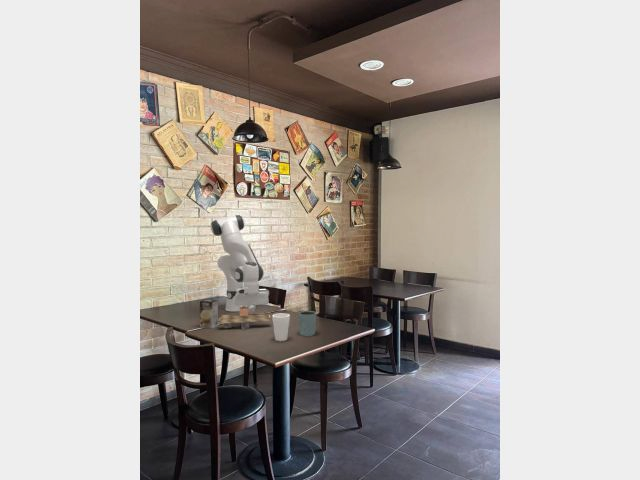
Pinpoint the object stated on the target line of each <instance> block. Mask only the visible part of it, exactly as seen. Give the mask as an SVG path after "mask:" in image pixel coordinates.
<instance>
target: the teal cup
mask: <svg viewBox="0 0 640 480" xmlns="http://www.w3.org/2000/svg"><path fill="white" fill-rule="evenodd" d="M316 322H317V312H316V311H313V310H302V311H299V312H298V323H299V324H298V325H299V334H300V336H303V337H311V336H315V335H316V325H317V324H316Z"/></svg>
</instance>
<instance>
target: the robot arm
mask: <svg viewBox="0 0 640 480" xmlns="http://www.w3.org/2000/svg"><path fill="white" fill-rule="evenodd" d="M244 229H245V220H244V218H243V216H241V215H240V214H237V215H236V214H235V215H230V216H229V215H228V216H226V217H222V218H218V219H214V220H212V221H211V222H210V231H211V233H212V234H213V235H214V236H217V237H218V236H219V237H220V239H221V244H222V248H223V251H224V252H225V253H227V254H226V255H221V256H219V257H218V259H217V261H216V262H217V267H218V268H219V269H220V270H221V271H222V273H223V274H224V276H225V280H226V288H227V289H226V304H225V309H224V310H225V311H227V312H240V307H243V306H245V307H248V314H253V313H255V309H256V308H257V306H261V305H268V304H269V302H270V301H269V296H270V291H269V289H267V288H260V281H261V280H262V279H263V277H264V269H263V268H262V266H261V265H260V263H259V261H258V259H257V258H256V255H255V253H254V251H253V249H252V248H251V246H250V244H249V243H248V242H246V240H245V239H243V236H242V233H241V231H242V230H244Z"/></svg>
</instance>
